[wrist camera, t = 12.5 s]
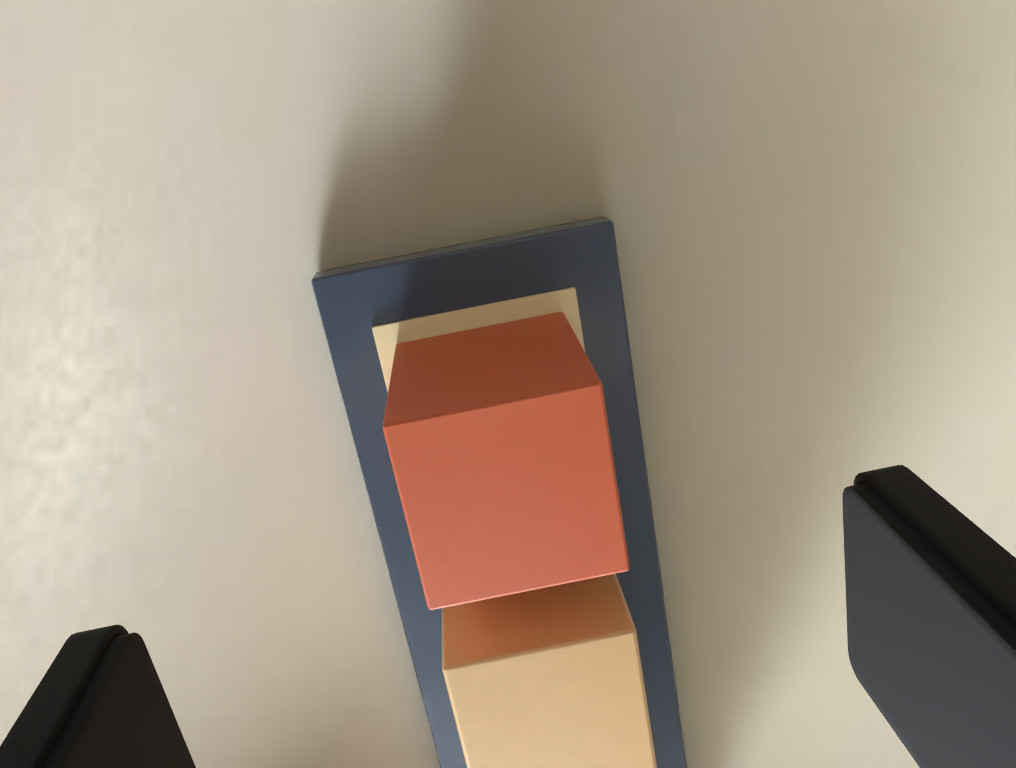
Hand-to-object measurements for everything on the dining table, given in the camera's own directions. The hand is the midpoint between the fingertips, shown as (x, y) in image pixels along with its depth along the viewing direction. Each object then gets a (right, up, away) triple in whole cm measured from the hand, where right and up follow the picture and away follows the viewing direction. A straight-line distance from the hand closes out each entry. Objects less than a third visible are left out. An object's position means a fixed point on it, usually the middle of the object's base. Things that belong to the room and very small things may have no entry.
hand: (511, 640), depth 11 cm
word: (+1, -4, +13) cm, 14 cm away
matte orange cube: (0, +3, +9) cm, 10 cm away
